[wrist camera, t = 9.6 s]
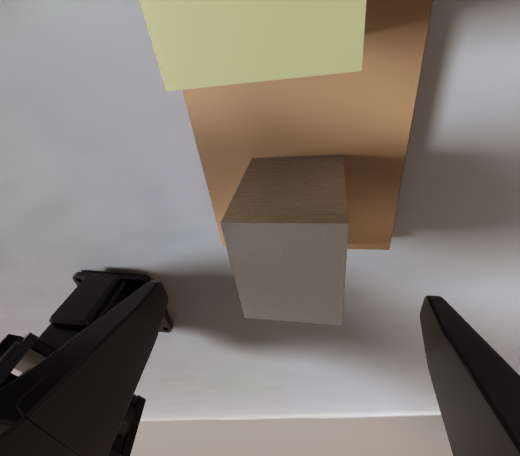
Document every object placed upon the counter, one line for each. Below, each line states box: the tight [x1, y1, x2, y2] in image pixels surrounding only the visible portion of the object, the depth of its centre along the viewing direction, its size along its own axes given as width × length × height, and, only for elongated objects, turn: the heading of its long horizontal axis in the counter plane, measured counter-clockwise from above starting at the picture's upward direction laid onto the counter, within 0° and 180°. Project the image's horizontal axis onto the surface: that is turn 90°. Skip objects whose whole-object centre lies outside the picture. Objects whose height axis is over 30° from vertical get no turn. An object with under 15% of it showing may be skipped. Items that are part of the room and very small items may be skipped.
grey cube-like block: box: [220, 154, 348, 326], centre depth 13 cm, size 5×4×5 cm
